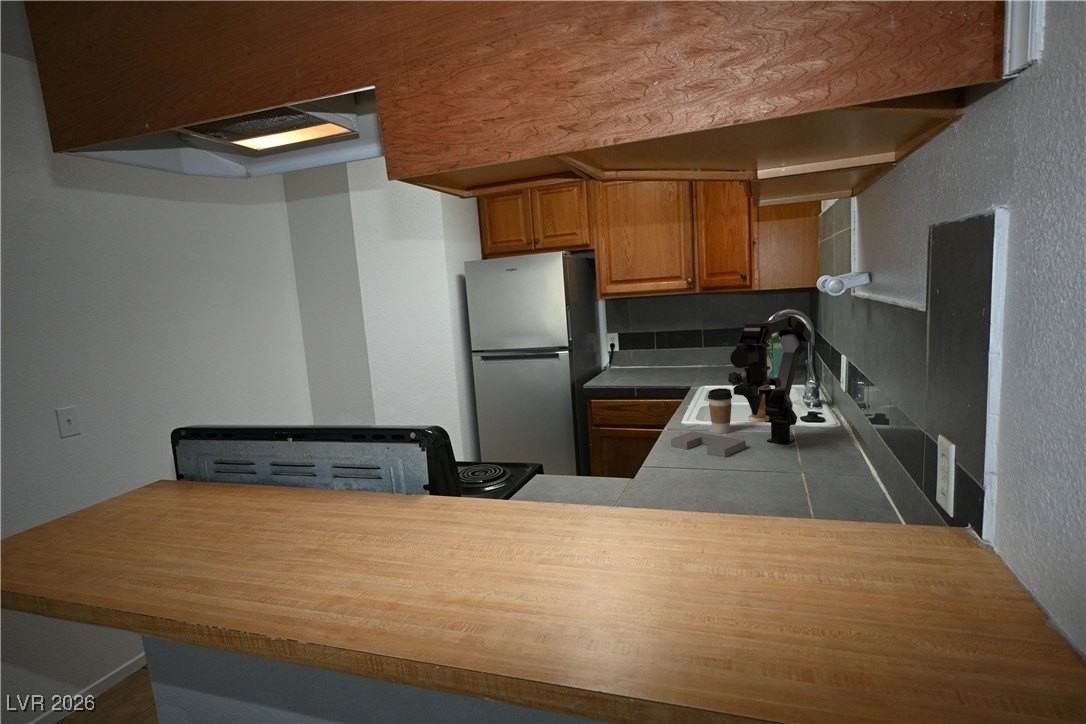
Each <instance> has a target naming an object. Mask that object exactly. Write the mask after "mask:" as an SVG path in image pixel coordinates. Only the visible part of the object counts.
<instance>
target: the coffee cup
mask: <svg viewBox="0 0 1086 724" xmlns="http://www.w3.org/2000/svg"><path fill="white" fill-rule="evenodd" d="M707 399H708V402H709V403H708V408H709V414H710V416H709V417H710V422H711V431H712V433H713V434H720V435H722V434H729V433H730V432H731V417H732V405H733V404H732V399H733V394H732V391H731V389H730V388H725V387H723V388H722V387H720V388H715V389H714V388H713V389H711V390H709V391H708V394H707Z"/></svg>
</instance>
